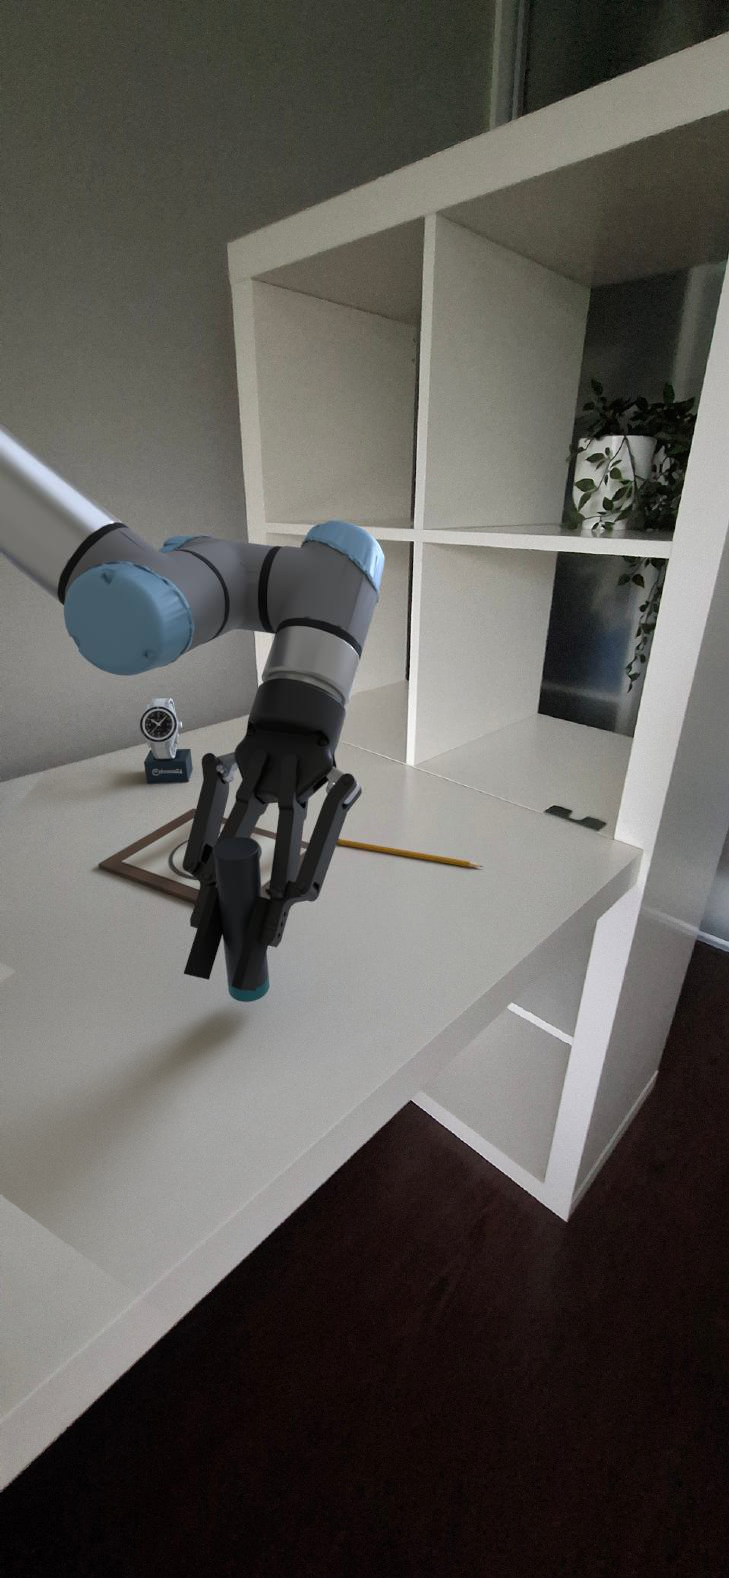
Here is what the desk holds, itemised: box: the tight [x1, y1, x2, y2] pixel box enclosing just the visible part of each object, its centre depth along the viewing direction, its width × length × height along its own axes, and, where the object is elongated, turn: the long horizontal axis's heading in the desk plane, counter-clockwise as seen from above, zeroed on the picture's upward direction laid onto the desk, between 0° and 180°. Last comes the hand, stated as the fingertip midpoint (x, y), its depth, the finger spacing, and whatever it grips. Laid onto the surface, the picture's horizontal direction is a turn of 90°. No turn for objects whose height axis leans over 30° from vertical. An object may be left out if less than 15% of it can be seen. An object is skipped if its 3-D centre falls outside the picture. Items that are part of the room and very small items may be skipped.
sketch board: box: [97, 808, 309, 905], centre depth 76 cm, size 20×15×1 cm
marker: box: [213, 837, 270, 1003], centre depth 52 cm, size 3×3×13 cm
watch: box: [139, 697, 194, 784], centre depth 93 cm, size 6×8×11 cm
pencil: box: [336, 837, 484, 868], centre depth 77 cm, size 19×1×1 cm, turn 71°
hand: (220, 982), depth 50 cm, fingers closed on marker, 3 cm apart
